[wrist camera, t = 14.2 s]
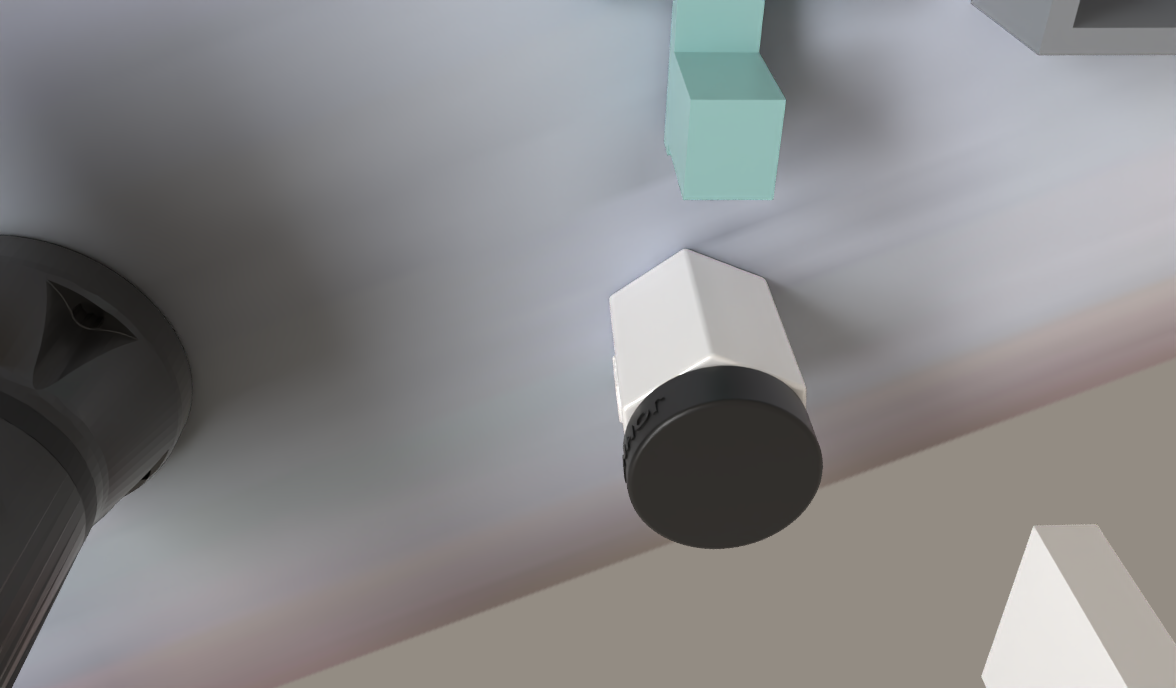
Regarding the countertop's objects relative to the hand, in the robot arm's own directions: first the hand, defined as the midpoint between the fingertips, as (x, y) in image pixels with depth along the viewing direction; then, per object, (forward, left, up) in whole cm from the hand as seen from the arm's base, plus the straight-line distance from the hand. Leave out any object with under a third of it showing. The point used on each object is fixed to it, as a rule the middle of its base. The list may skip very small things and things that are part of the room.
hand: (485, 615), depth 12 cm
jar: (+8, -18, -35) cm, 40 cm away
